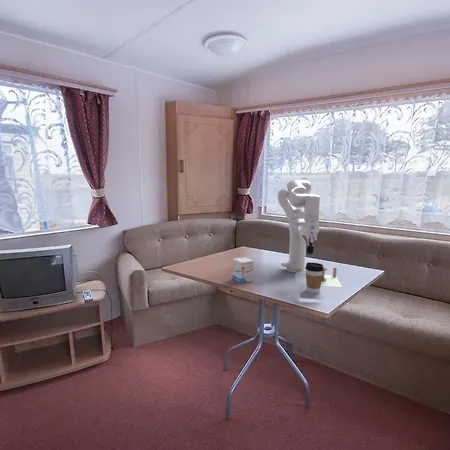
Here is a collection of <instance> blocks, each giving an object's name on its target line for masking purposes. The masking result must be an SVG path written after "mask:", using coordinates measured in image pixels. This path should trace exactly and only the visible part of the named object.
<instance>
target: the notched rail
mask: <svg viewBox="0 0 450 450" xmlns="http://www.w3.org/2000/svg"><path fill="white" fill-rule="evenodd" d="M337 270H338V269H337V267H336V266H333V268H332V271H333V272H332V275H333V277H337ZM325 272H326V271H324V275H326V273H325Z"/></svg>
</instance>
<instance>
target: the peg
mask: <svg viewBox="0 0 450 450" xmlns="http://www.w3.org/2000/svg"><path fill="white" fill-rule="evenodd" d="M309 240H310V239H309ZM309 242H310V241H309ZM306 244H307V246H308V240H307V239H306ZM307 255H308V256H313V255H314V253H313V254H309V253H307V252H306V256H307Z"/></svg>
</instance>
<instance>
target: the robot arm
mask: <svg viewBox="0 0 450 450" xmlns="http://www.w3.org/2000/svg"><path fill="white" fill-rule="evenodd" d="M311 191H312V184H311V182H310V181H309V180H303V179H295V180H294V179H293V180H290V181H289V182H287V184H286V187H285V188H282V189H279V190H278V193H277V200H278V204H279V206H280V207H281V209H282V210H283V211H284V214H285V216H286V218H287V220H288V222H289V223H288V229H289V231H288V232H289V250H288V251H289V253H288V254H289V255H288V261H287V262H281V265H280V266H281V267H285V270H286V271H287V272H289V273H292V274H296V272H298V273H300V272H301V273H306V254H307V253H309V254H313V255H314V250H315V249H314V247H315V246H314V241H315V242H316V241H317V240H318V238H317V237H318V233H319V232H320V223H319V219H320V206H321V205H320V203H321V196H319V195H317V194H314V193H310V192H311ZM303 236H305V238H304V237H303ZM305 239H306V240H305ZM309 239H310V240H309ZM307 240H308V246H307ZM309 241H310V242H309Z"/></svg>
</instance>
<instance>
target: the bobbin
mask: <svg viewBox="0 0 450 450" xmlns="http://www.w3.org/2000/svg"><path fill="white" fill-rule="evenodd" d="M323 268H324V269H323V272H322V274H323V275H322V281H321V282H324V281H326V278H324V271H325V272H326V271H327V270H328V268H327V267H326V266H323Z"/></svg>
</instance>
